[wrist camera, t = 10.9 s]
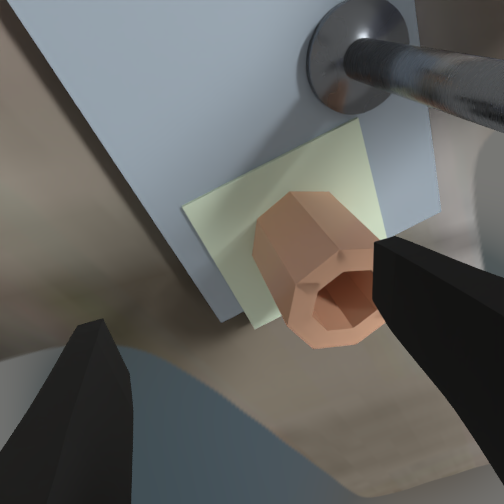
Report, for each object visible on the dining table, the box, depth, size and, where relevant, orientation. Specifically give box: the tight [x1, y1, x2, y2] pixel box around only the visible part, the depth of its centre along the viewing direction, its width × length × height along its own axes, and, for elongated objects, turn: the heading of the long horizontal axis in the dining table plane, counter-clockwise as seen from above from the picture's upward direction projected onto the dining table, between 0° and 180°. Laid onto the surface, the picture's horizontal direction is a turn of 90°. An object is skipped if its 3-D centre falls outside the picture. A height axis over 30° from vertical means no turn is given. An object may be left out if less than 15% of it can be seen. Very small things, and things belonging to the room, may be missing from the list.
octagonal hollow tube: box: [252, 191, 385, 349], centre depth 19 cm, size 5×5×6 cm
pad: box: [182, 117, 387, 329], centre depth 21 cm, size 9×9×1 cm
